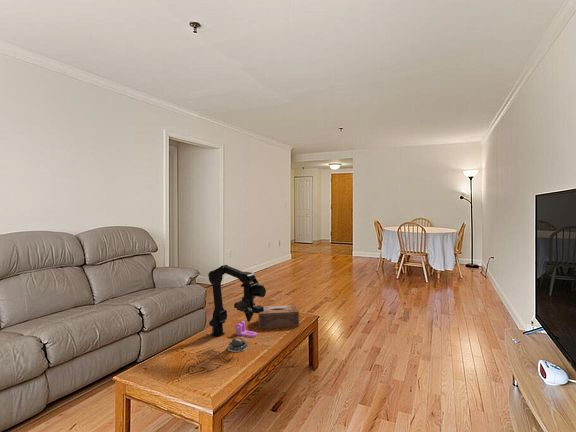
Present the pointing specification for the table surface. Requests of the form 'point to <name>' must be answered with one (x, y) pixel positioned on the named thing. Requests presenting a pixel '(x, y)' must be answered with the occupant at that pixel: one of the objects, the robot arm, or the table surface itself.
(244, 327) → the bracket
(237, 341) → the cap
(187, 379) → the table surface
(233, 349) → the shallow metal dish
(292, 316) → the tissue box cover
